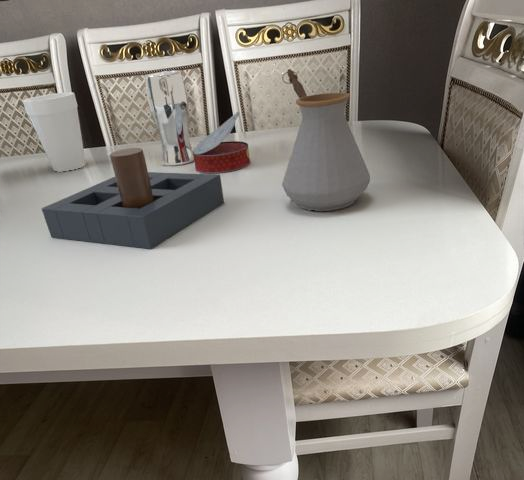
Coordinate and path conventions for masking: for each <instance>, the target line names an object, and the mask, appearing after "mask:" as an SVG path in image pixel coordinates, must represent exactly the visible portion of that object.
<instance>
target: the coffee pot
mask: <svg viewBox="0 0 524 480" xmlns="http://www.w3.org/2000/svg"><path fill="white" fill-rule="evenodd" d="M286 74H287V77H288V82H287V81H285V80H284V77H285V75H286ZM281 79H282V82H283V83H284V84H288V85H290V84H291V85H292V87H293V88H292V89H293V91H294V92H295V94H296V95H297V97H298V98H297V99H296V100H295V104H296V105H297V106H299V109H300V113H301V117H302V119H301V121H300V125H299V128H298V132H297V134H296V138H295V140H294V144H293V148H292V150H291V154H290V158H289V161H288V164H287V167H286V170H285V173H284V175H283V181H282V183H281V184H282V185H281V186H282V189H283V191H284V193H285V194H286V196H287V197H288V198H289V199H290V200H291V201H293V203H295V204H297V206H298V207H299V208H301V209H303V210H306V209H307V210H306V211H311V210H315V211H314V212H329V211H336V210H337V211H338V210H342V209H344V208H347V207H349V206H352V205H354V204H355V202H356V201H357V199H358V198H360V197H361V196H362V195H363V193H364V192H365V191H366V190H367V189H368V187H369V184H370V181H371V174H370V172H369V169H368V167H367V164H366V163H365V160H364V158H363V156H362V153H361V151H360V148H359V146H358V143H357V141H356V138H355V136H354V134H353V132H352V130H351V127H350V124H349V122H348V120H347V118H346V115H345V110H346V107H347V103H348V101H349V99H350V98H351V93H347V92H327V93H318V94H312V95H307V93H306V90H305V88H304V86H303V84H302V82H300V81H299V78H298V73H297V72H296V71H295V70H292V69H291V68H288V69H287V71H286V72H284V73H283V74H282V77H281Z"/></svg>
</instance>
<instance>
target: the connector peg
mask: <svg viewBox="0 0 524 480" xmlns="http://www.w3.org/2000/svg"><path fill="white" fill-rule="evenodd" d="M109 159H110V162H111V167H112V169H113V175H114V177H115V178H116V182H117V186H118V190H119V193H120V197H121V201H122V205H123V207H124V208H138V209H140V208H142V207H144V206H146V205H148V204H150V203H152V202H154V197H153V193H152V188H151V184H150V179H149V175H148V172H149V170H148V167H147V162H146V158H145V153H144V149H143V148H141V147H128V148H127V147H126V148H123V149H118V150H115V151H112V152H110V153H109Z"/></svg>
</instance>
